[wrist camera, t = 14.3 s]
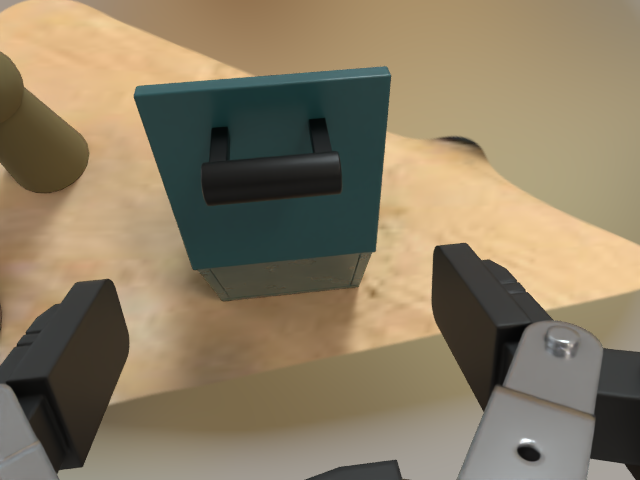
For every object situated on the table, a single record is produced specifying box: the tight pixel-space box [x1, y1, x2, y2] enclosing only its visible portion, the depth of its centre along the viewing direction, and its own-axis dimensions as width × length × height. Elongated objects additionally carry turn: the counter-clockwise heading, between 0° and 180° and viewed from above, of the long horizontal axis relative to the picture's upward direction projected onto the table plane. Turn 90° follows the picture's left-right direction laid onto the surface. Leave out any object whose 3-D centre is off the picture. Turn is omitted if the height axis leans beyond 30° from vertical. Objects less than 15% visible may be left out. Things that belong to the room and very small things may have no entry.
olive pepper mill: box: [0, 52, 89, 193], centre depth 33 cm, size 6×6×11 cm
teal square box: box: [198, 252, 372, 301], centre depth 33 cm, size 10×10×9 cm
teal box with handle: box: [134, 66, 391, 270], centre depth 21 cm, size 10×10×5 cm
